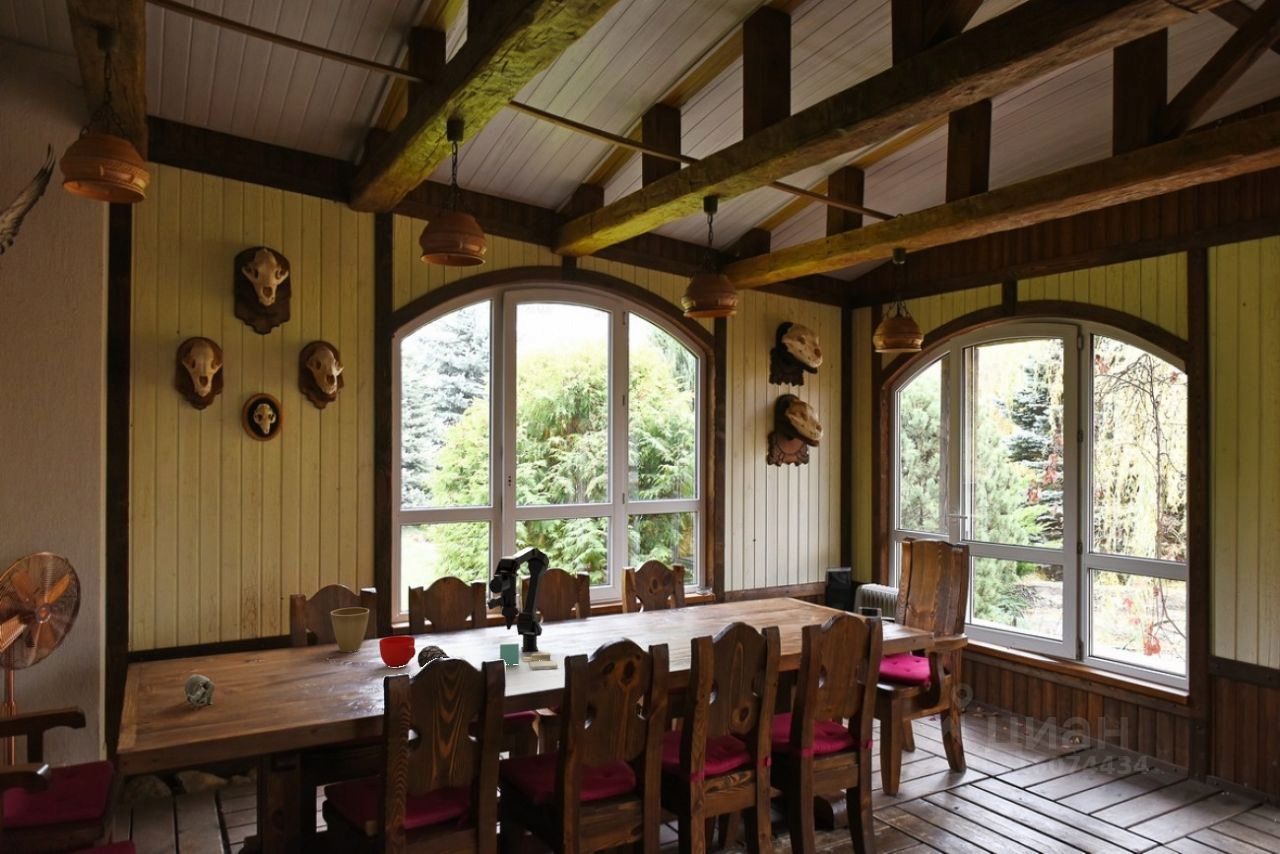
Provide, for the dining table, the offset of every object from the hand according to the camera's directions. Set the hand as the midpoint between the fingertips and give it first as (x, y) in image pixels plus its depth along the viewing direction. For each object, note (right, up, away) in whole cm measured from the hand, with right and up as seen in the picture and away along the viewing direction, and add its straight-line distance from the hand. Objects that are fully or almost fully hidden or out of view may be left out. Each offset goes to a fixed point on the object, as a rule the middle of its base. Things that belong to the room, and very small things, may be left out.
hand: (508, 629), depth 322 cm
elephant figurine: (-90, -11, -58) cm, 108 cm away
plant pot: (-67, -12, +14) cm, 70 cm away
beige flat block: (+11, -12, 0) cm, 16 cm away
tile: (+1, -12, -7) cm, 14 cm away
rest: (+15, -12, -9) cm, 21 cm away
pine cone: (-23, -12, -21) cm, 33 cm away
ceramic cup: (-39, -12, -11) cm, 42 cm away
